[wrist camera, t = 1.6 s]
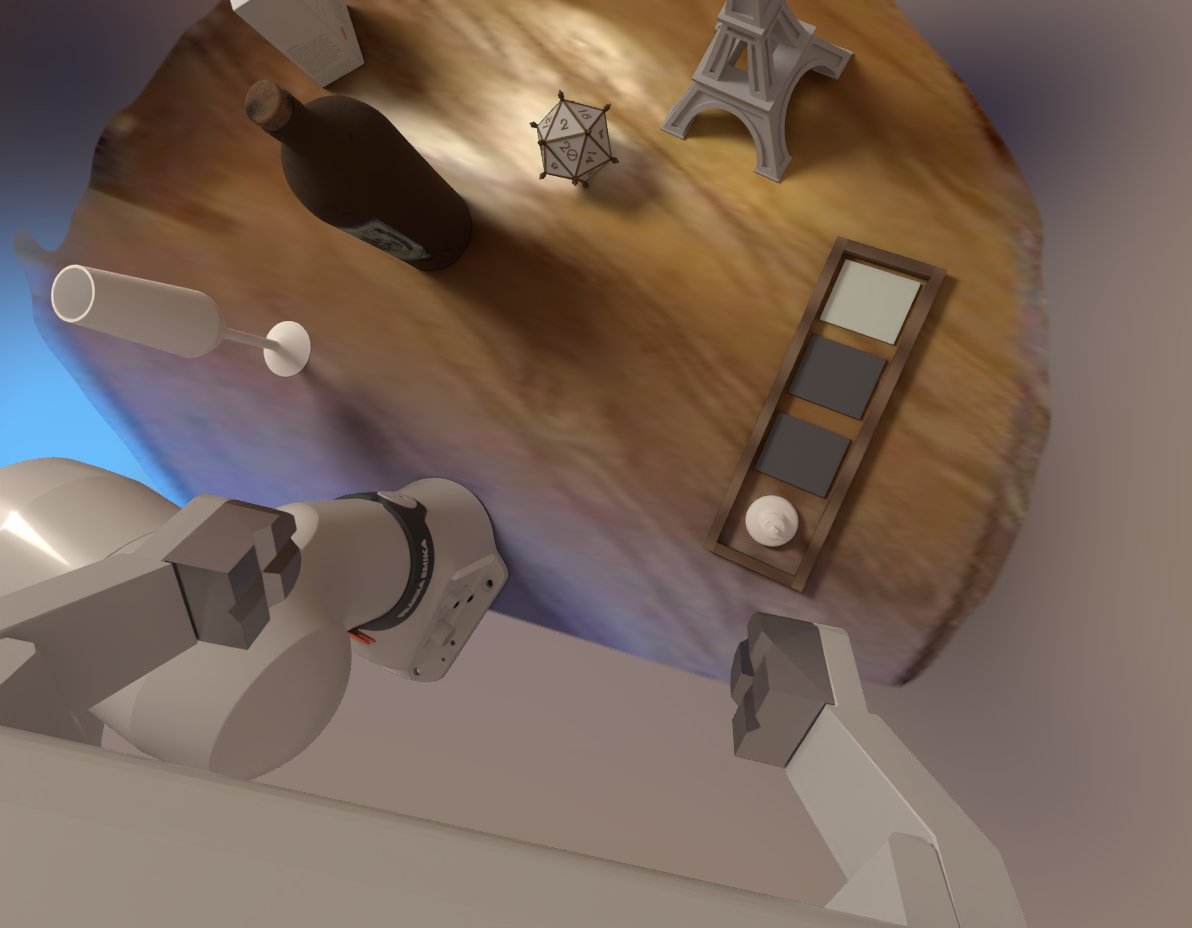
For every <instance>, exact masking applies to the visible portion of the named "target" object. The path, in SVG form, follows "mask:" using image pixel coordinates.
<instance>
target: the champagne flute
mask: <svg viewBox="0 0 1192 928" xmlns="http://www.w3.org/2000/svg"><path fill="white" fill-rule="evenodd" d="M51 299H52V305H53V308H54V310H55V312H56V314H57V315H58V316H59V317H60V318H61V319H62V320H64V321H67V322H70V323H74V324H77V325H80V326H83V327H87V328H90V329H93V330H97V331H100V332H103V333H106V334H110V335H113V336H116V337H120V338H123V339H126V340H129V341H133V342H136V343H139V344H143V345H146V346H149V347H152V348H156V349H159V350H162V351H166V352H169V353H172V354H175V355H179V356H182V357H187V358H194V357H199V356H202V355H204V354H207V353H209V352H210V351H212V350H213V349H215V348H216V347H217V346H218V345H219V343H220V342H221V340H222V339H223V338H225V339H229V340H233V341H237V342H241V343H245V344H249V345H253V346H257V347H261V348H264V357H265V361H266V363H267V365H268V367H269V368H270V370H272V371H273V372H274V373H275V374H277V375H279V376H284V377H288V376H293V375H295V374H297V373H298V372H300V371H301V370H302V369H303V368H304V366H305V365H306V363H307V361H308V359H309V356H310V350H311V345H310V339H309V336H308V334H307V332H306V331H305V329H304V328H303V327H302V326H301V325H299V324H298V323H296V322H292V321H285V322H281V323H279V324H277V325H276V326H274V327H273V328H272V329H271V331H270V332H269V334H268V335H267V337H266V338H263V337H259V336H256V335H252V334H248V333H245V332H241V331H237V330H234V329H230V328H226V327H225V321H224V317H223V314H222V312H221V310H220V309H219V307H218V306H217V304H216V303H215V302H214V301H213V300H212V299H211V298H210V297H209V296H207V295H206V294H204V293H202V292H200V291H196V290H192V289H187V288H182V287H178V286H173V285H168V284H164V283H159V282H154V281H150V280H145V279H140V278H136V277H131V276H126V275H122V274H117V273H112V272H108V271H103V270H98V269H94V268H89V267H84V266H80V265H70V266H68V267H66V268H64V269H63V270H62V271H61V272H60V273H59V274H58V275H57V277H56V279H55V281H54V283H53V287H52V293H51Z"/></svg>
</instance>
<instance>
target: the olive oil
mask: <svg viewBox="0 0 1192 928" xmlns="http://www.w3.org/2000/svg"><path fill="white" fill-rule="evenodd" d="M245 109H246V113H247V115H248V117H249V118H250V119H251V120H252V121H253V122H255V123H256V124H258V125H259V126H261V128H262V129H263V130H264V131H265V132H266V133H268V134H270V135H271V136H273V137H274V138H276V139H277V140H279V141H280V142H281V159H282V166H283V171H284V174H285V177H286V180H287V182H288V184H289V186H290V188H291V189H292V191H293V192H294V194H295V195H296V197H297V198H298V199H299V200H300V201H301V203H302V204H303V205H304V206H305V207H306V208H307V209H308V210H309V211H310V212H311V213H312V214H314V215H315V216H316V217H318V218H319V219H321V220H322V221H324V222H326V223H328V224H330V225H332V226H334V227H336V228H338V229H340V230H342V231H344V232H346V233H349V234H351V235H353V236H355V237H357V238H359V239H361V240H363V241H365V242H367V243H369V244H371V245H373V246H375V247H377V248H379V249H381V250H383V251H385V252H387V253H389V254H391V255H393V256H394V257H396V258H399V259H400V260H402V261H404V262H406V263H408V264H410V265H412V266H414V267H416V268H418V269H421V270H427V271H434V270H439V269H442V268H445V267H447V266H449V265H450V264H452V263H453V262H454V261H456V260H457V259H458V258H459V257H460V255H461V254H462V253H463V251H464V250H465V248H466V246H467V244H468V241H469V238H470V234H471V216H470V212H469V209H468V207H467V205H466V203H465V202H464V200H463V199H462V198H461V197H460V195H459V194H458V193H457V192H456V191H455V190H454V189H453V188H452V187H451V186H450V185H449V184H448V183H447V182H446V181H445V180H444V179H443V178H442V177H441V176H440V175H439V174H438V173H437V172H436V171H435V170H434V169H433V168H432V167H431V166H430V164H429V163H428V162H427V161H426V160H425V159H424V158H423V157H422V156H421V155H420V154H419V153H418V152H417V151H416V149H415V148H414V147H413V146H412V145H411V144H410V143H409V142H408V141H407V140H406V138H405V137H404V136H403V135H402V134H401V133H400V132H399V131H398V130H397V129H396V127H395V126H394V125H393V124H392V123H391V122H390V121H389V120H388V119H387V118H386V117H385V116H384V115H383V114H382V113H380V112H379V111H378V110H376V109H375V108H373V107H371V106H370V105H368V104H365V103H363V102H361V101H358V100H356V99H353V98H350V97H345V96H325V97H321V98H318V99H315V100H313V101H311V102H309V103H307V104H305V105H303V104H302V103H301V102H300V101H298V100H297V99H296V98H295V97H294V96H292V95H291V94H290V93H289V92H288V91H286V90H283V89H281V88H280V87H279V86H278V85H276V84H275V83H274V82H272V81H269V80H262V81H259V82H257V83H256V84H254V85H253V86H252V87H251V89H250V90H249V92H248V94H247V96H246V100H245Z"/></svg>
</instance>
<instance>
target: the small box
mask: <svg viewBox="0 0 1192 928" xmlns="http://www.w3.org/2000/svg"><path fill="white" fill-rule="evenodd" d="M230 1H231V5H232V8H233V11H234V12H235V13H237V14H238V15H239V16H240V17H241V18H242V19H243V20H245V21H246V22H247V23H248V24H249V25H250V26H252V27H253V28H254V29H255V30H256V31H257V32H258V33H260V34H261V35H262V36H263V37H264V38H265V39H267V40H268V41H269V42H270V43H271V44H272V45H273V46H275V47H276V48H277V49H278V50H279V51H280V52H281V53H283V54H284V55H285V56H286V57H287V58H288V59H290V60H291V61H292V62H293V63H294V64H295V65H296V66H298V67H299V68H300V69H301V70H302V71H303V72H305V73H306V74H307V75H308V76H309V77H310V78H311V79H313V80H314V81H315V82H316V83H317V84H318V85H319V86H321V87H325V86H327V85H328V84H330V83H332V82H333V81H335V80H337V79H339V78H340V77H342V76H344V75H346V74H347V73H349V72H351V71H353V70H354V69H356V68H358V67H359V66H361V65H363V64H364V60H363V57H362V53H361V50H360V47H359V44H358V41H357V38H356V34H355V31H354V28H353V25H352V22H351V19H350V15H349V12H348V9H347V6H346V4H345V3H344V2H343V0H230Z"/></svg>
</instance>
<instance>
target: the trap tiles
mask: <svg viewBox="0 0 1192 928" xmlns="http://www.w3.org/2000/svg"><path fill="white" fill-rule="evenodd" d="M885 362H886V359H883V358H880V357H878V356H875V355H872V354H869V353H866V352H863V351H860V350H858V349H855V348H852V347H849V346H846V345H843V344H841V343H838V342H835V341H832V340H829V339H826V338H823V337H821V336H818V335H815V334H813V335H812V338H811V340H810V342H809V344H808V347H807V349H806V351H805V354H804V356H803V358H802V360H801V363H800V365H799V367H798V370H797V372H796V374H795V376H794V379H793V381H792V383H791V386H790V388H789V390H788V393H789V394H792V395H795V396H797V397H800V398H803V399H805V400H808V401H811V402H813V403H816V404H819V405H821V406H824V407H827V408H829V409H832V410H835V411H837V412H840V413H843V414H845V415H848V416H851V417H853V418H856V419H858V420H860V417H861V415H862V413H863V411H864V409H865V406H866V404H867V402H868V400H869V397H870V395H871V393H872V391H873V389H874V386H875V384H876V382H877V380H878V377H879V375H880V373H881V371H882V369H883V366H884V364H885ZM850 440H851V439H848V438H846V437H843V436H841V435H838V434H835V433H833V432H830V431H828V430H825V429H823V428H820V427H817V426H815V425H812V424H810V423H807V422H804V421H802V420H799V419H797V418H794V417H791V416H789V415H786V414H784V413H781V412H779V413H778V415H777V418H776V420H775V422H774V425H773V427H772V429H771V431H770V434H769V436H768V438H767V441H766V443H765V445H764V447H763V450H762V452H761V454H760V457H759V459H758V461H757V463H756V466H755V468H754V469H755V470H758V471H760V472H763V473H765V474H768V475H770V476H772V477H775V478H777V479H780V480H782V481H785V482H787V483H789V484H792V485H794V486H797V487H799V488H802V489H804V490H806V491H809V492H811V493H814V494H816V495H819V496H821V497H823V498H824V497H825V495H826V493H827V491H828V488H829V486H830V484H831V482H832V480H833V477H834V475H835V473H836V471H837V468H838V466H839V464H840V462H841V460H842V457H843V455H844V453H845V451H846V449H847V446H848V444H849V442H850Z"/></svg>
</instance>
